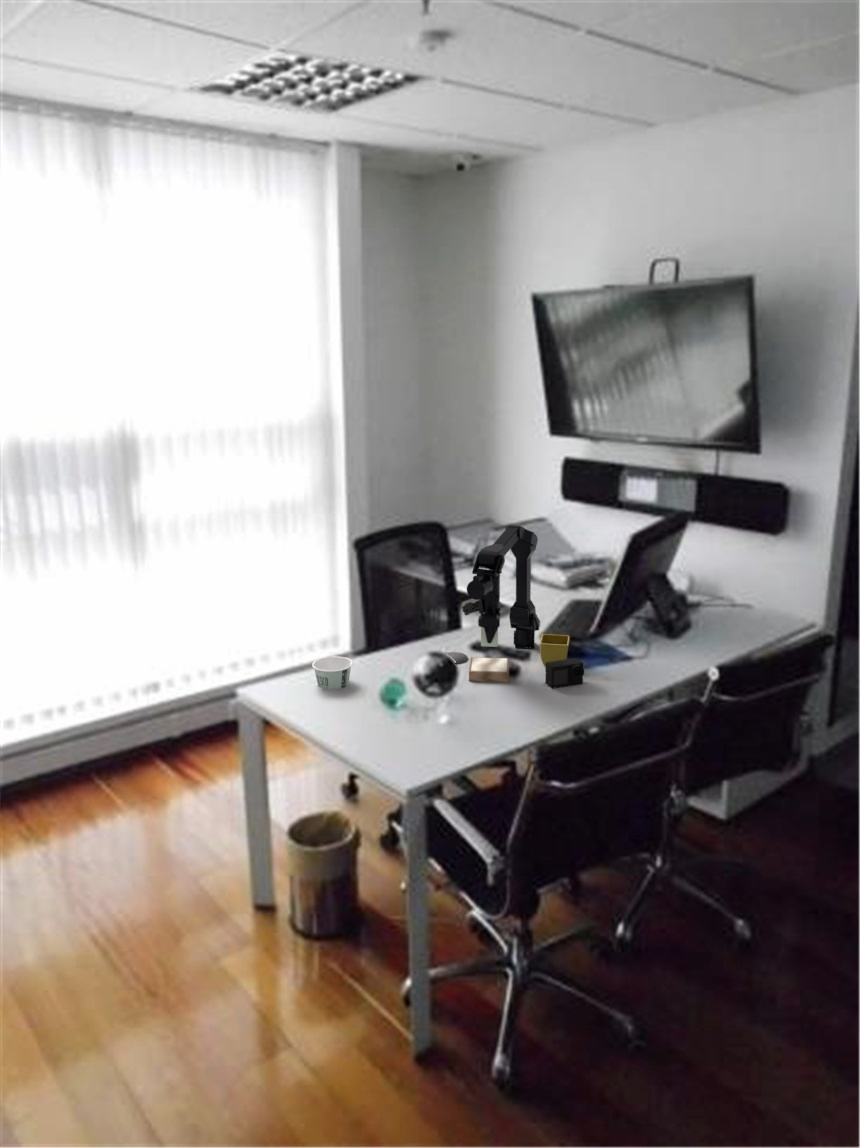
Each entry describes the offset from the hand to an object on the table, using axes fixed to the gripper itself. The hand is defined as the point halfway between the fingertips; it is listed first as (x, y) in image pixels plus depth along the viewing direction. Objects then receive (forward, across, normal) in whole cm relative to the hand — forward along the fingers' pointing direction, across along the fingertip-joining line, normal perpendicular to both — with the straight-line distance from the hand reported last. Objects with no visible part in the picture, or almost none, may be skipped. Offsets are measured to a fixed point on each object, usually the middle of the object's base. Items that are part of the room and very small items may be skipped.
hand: (489, 639), depth 268 cm
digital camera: (+11, +7, +23) cm, 26 cm away
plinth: (+11, 0, 0) cm, 11 cm away
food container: (+12, +11, -46) cm, 49 cm away
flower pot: (+11, -8, +20) cm, 24 cm away
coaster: (+11, -12, -12) cm, 20 cm away
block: (+1, 0, 0) cm, 1 cm away
